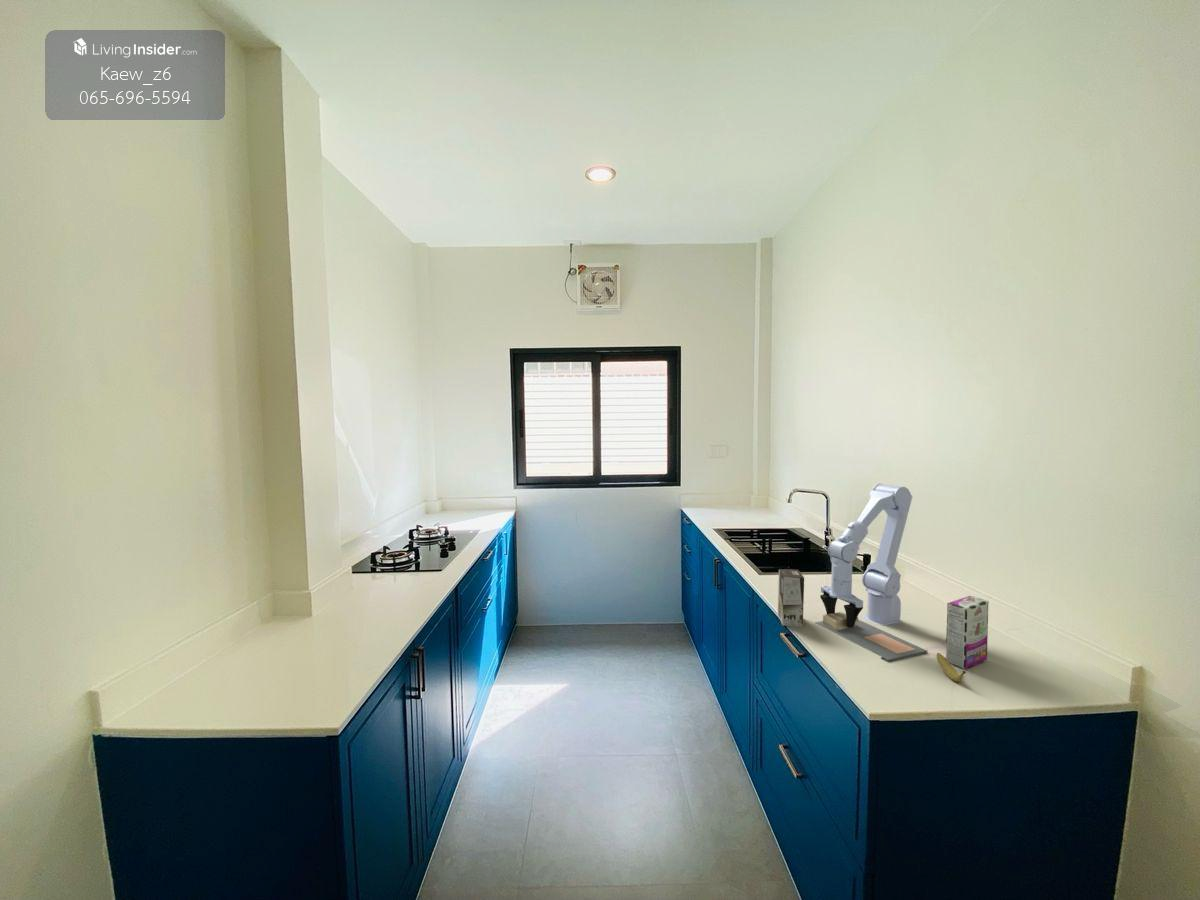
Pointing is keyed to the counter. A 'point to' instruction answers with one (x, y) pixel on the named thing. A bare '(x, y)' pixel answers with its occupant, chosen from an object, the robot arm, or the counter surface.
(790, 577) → the coffee box
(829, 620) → the card box
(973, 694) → the counter surface
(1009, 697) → the counter surface
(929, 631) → the counter surface
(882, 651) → the mat
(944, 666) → the banana
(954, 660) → the candy bar box
